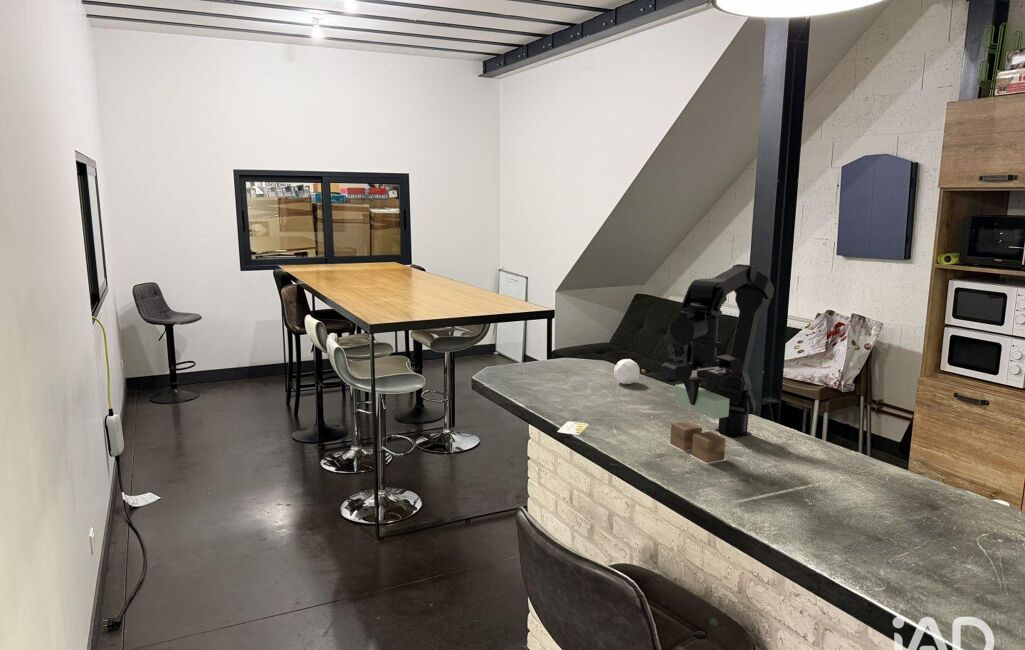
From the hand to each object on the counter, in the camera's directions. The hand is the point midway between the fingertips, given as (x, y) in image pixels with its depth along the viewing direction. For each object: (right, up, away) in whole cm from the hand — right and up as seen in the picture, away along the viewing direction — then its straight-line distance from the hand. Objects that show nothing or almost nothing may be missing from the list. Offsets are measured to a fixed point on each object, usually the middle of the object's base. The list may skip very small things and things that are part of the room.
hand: (700, 403), depth 158 cm
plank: (0, -1, 0) cm, 1 cm away
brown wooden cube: (-2, -11, +6) cm, 12 cm away
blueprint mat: (0, -12, +2) cm, 12 cm away
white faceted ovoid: (-7, 0, +63) cm, 63 cm away
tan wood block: (+1, -12, -1) cm, 12 cm away
